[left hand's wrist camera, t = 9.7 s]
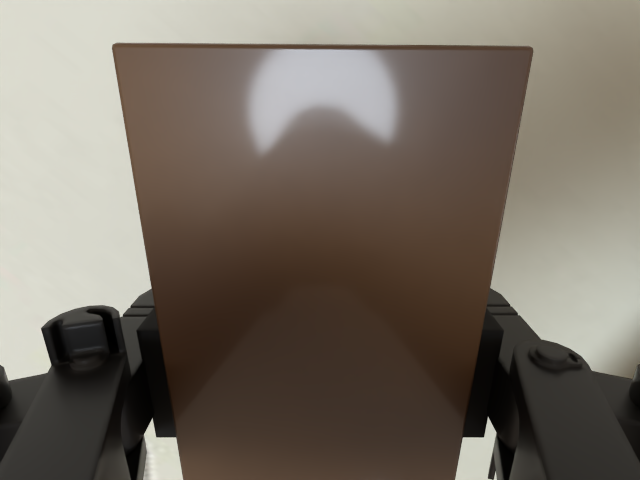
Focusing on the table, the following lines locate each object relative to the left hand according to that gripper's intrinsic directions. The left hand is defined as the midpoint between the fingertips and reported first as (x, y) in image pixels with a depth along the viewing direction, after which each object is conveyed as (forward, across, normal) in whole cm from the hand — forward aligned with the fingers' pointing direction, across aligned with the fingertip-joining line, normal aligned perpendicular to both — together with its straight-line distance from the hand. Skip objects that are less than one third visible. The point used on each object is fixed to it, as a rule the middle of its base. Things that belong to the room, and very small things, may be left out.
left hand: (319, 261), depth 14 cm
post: (+1, 0, -21) cm, 21 cm away
